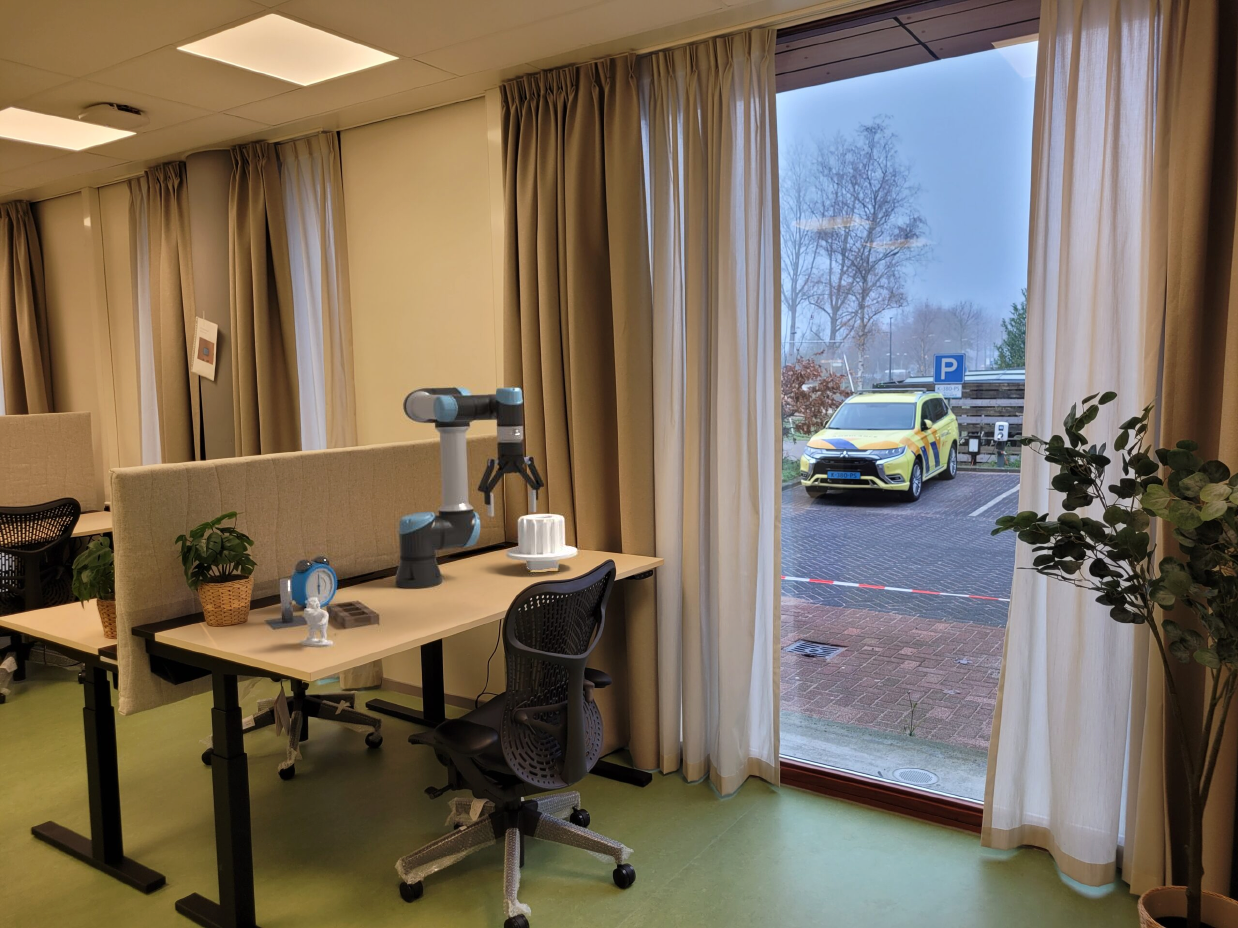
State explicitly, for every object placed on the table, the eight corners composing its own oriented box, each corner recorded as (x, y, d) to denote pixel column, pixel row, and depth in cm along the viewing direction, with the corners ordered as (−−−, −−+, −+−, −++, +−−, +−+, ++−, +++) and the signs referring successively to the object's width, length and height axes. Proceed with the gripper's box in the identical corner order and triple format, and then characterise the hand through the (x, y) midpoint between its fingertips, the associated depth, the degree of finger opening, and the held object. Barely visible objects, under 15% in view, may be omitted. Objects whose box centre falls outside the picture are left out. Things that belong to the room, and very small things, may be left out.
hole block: (326, 615, 260) (326, 604, 260) (358, 610, 265) (357, 600, 265) (346, 630, 244) (345, 619, 243) (379, 624, 248) (378, 614, 248)
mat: (264, 621, 254) (264, 620, 254) (301, 616, 260) (301, 614, 260) (273, 630, 244) (273, 629, 244) (311, 625, 249) (311, 623, 249)
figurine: (292, 646, 229) (290, 599, 228) (310, 639, 235) (308, 593, 234) (320, 649, 226) (318, 602, 225) (338, 642, 232) (336, 596, 231)
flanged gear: (511, 578, 306) (509, 523, 304) (503, 565, 330) (501, 513, 329) (583, 574, 312) (582, 519, 310) (570, 561, 336) (569, 510, 334)
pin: (280, 621, 252) (278, 579, 251) (291, 620, 254) (289, 577, 253) (283, 623, 250) (281, 581, 249) (294, 622, 251) (292, 579, 250)
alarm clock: (304, 613, 263) (301, 562, 262) (289, 611, 266) (287, 560, 265) (338, 603, 274) (336, 554, 273) (324, 601, 278) (322, 553, 276)
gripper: (475, 443, 252) (477, 519, 254) (554, 439, 266) (555, 511, 267) (464, 442, 258) (467, 516, 260) (542, 438, 272) (543, 508, 274)
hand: (512, 513), depth 264 cm, fingers open, 13 cm apart
